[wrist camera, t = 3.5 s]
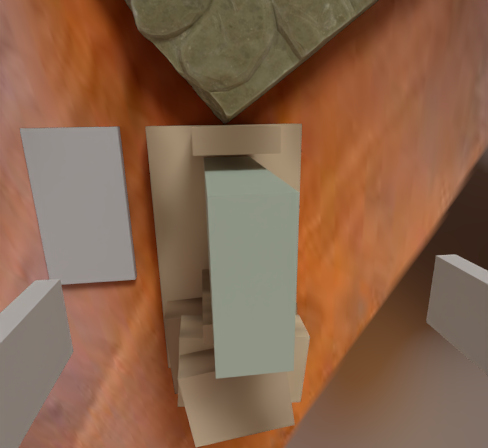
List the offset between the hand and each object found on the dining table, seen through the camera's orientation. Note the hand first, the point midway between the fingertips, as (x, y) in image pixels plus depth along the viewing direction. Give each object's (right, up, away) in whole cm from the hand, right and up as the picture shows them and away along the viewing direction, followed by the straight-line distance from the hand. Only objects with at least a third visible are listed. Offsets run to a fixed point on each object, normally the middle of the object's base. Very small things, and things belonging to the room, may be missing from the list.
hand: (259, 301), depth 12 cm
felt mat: (-12, +4, +12) cm, 17 cm away
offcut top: (-1, -7, +9) cm, 12 cm away
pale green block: (-2, +4, +11) cm, 12 cm away
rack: (-2, +1, +14) cm, 14 cm away
